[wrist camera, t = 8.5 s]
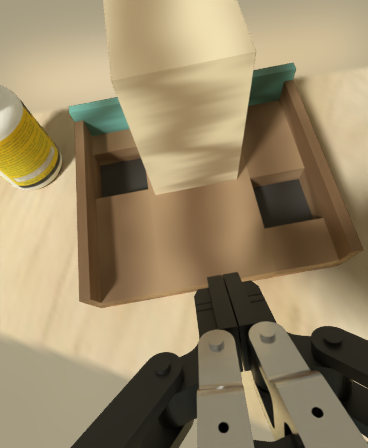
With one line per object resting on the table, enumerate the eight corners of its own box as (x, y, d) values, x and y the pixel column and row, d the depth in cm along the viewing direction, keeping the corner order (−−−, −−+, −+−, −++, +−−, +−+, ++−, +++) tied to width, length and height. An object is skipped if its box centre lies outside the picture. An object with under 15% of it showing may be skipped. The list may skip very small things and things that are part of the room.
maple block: (219, 115, 26) (224, -35, 15) (236, 179, 23) (256, 51, 13) (145, 129, 26) (102, -10, 16) (155, 195, 23) (110, 80, 13)
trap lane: (279, 109, 28) (293, 62, 23) (337, 265, 22) (371, 244, 17) (92, 145, 28) (69, 106, 23) (101, 308, 22) (72, 299, 18)
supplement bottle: (74, 151, 28) (8, 60, 19) (45, 199, 26) (-42, 125, 17) (28, 137, 29) (-55, 45, 20) (-3, 182, 28) (-109, 104, 18)
